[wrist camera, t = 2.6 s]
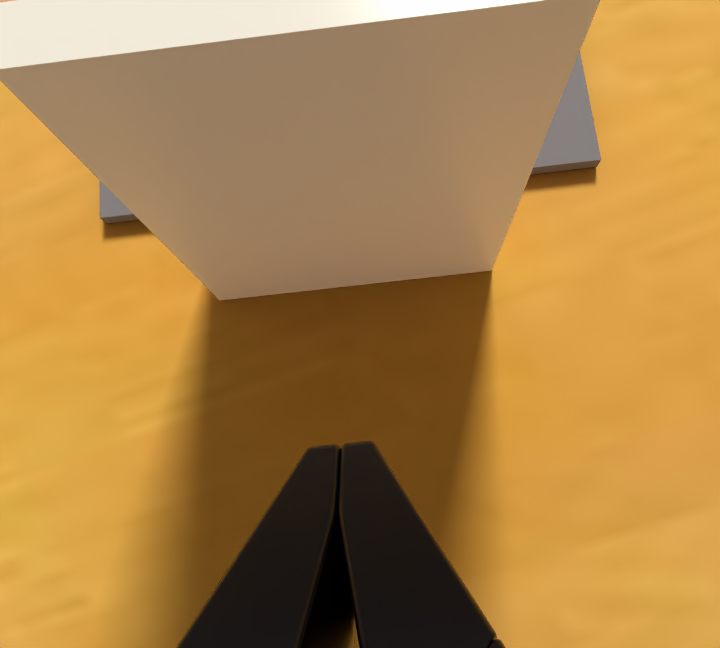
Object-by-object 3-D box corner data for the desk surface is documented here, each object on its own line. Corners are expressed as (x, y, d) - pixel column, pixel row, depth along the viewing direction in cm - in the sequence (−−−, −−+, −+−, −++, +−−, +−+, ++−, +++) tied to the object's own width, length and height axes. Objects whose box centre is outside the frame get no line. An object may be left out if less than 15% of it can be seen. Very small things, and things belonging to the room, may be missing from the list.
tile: (492, 270, 17) (603, -7, 8) (219, 300, 18) (-10, 70, 8) (482, 204, 18) (575, -138, 8) (216, 234, 18) (-6, -61, 8)
